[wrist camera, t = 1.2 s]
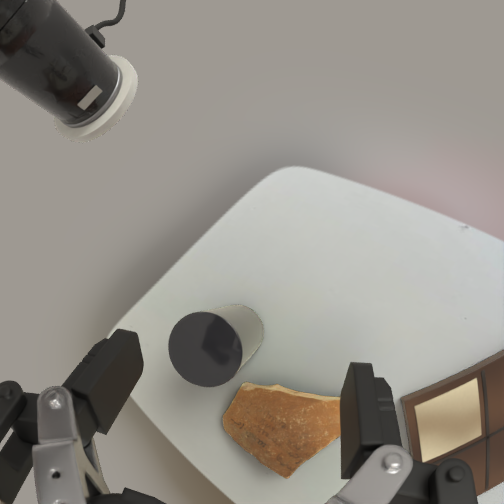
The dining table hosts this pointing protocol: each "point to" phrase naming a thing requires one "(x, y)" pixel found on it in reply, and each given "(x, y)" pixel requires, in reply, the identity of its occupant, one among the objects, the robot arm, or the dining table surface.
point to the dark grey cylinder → (214, 344)
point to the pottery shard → (282, 424)
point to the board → (461, 421)
